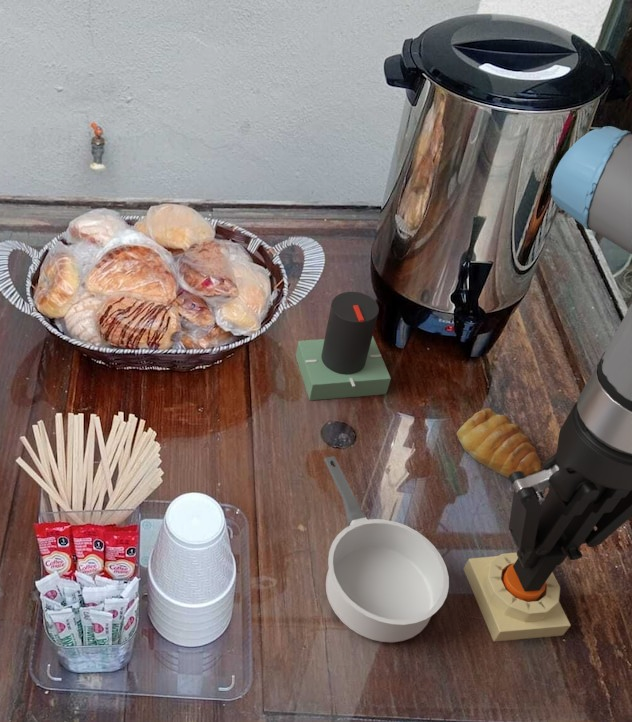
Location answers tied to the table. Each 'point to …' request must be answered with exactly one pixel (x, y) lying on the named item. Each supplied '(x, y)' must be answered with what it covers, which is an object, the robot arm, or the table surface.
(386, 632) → the saucepan
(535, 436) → the table surface
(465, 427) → the pastry
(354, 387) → the panel
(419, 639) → the table surface
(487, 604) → the block
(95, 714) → the table surface
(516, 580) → the button
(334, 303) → the timer knob
